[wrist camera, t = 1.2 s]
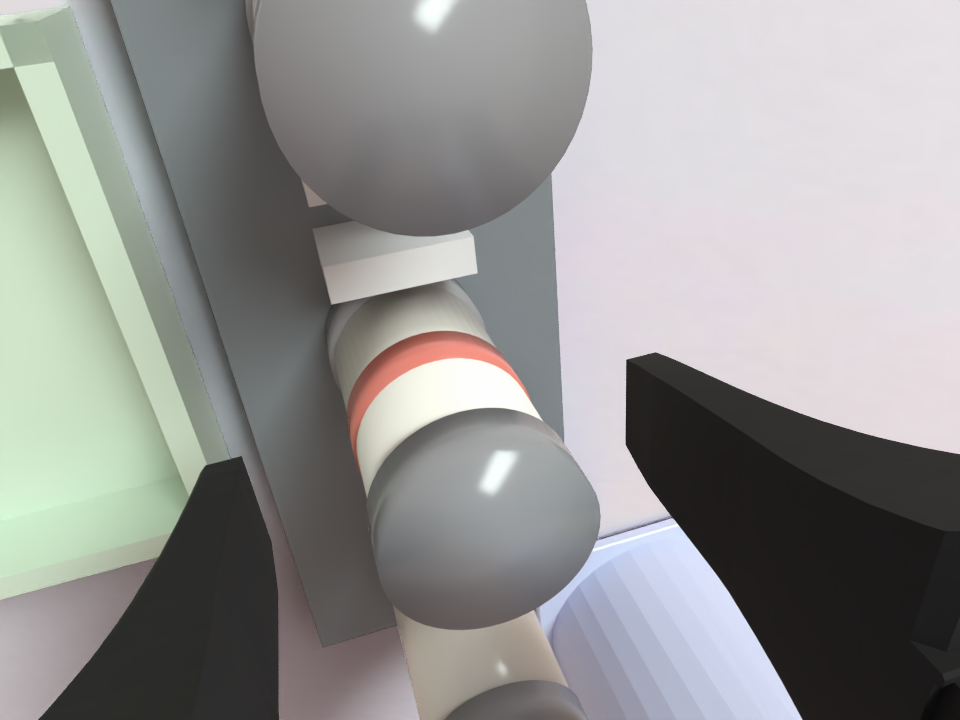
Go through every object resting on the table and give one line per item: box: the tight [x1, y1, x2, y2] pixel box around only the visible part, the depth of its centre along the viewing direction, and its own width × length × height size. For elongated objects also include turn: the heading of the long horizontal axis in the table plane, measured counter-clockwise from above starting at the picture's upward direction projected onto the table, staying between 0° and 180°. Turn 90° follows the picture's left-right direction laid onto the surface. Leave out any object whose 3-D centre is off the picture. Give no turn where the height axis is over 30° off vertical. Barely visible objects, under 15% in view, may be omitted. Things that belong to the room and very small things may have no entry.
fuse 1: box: [245, 0, 592, 237], centre depth 11 cm, size 4×4×8 cm
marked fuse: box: [325, 278, 600, 630], centre depth 15 cm, size 4×4×8 cm
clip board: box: [110, 0, 564, 647], centre depth 17 cm, size 20×8×3 cm, turn 6°
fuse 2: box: [393, 605, 588, 720], centre depth 18 cm, size 4×4×8 cm
